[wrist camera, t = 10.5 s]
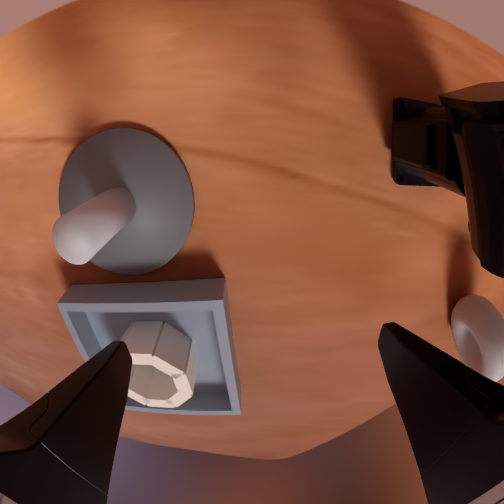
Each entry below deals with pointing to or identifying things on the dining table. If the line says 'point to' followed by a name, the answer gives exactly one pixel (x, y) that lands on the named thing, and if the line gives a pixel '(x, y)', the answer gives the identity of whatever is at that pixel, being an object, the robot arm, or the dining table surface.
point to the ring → (160, 364)
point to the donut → (479, 335)
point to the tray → (167, 310)
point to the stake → (123, 203)
